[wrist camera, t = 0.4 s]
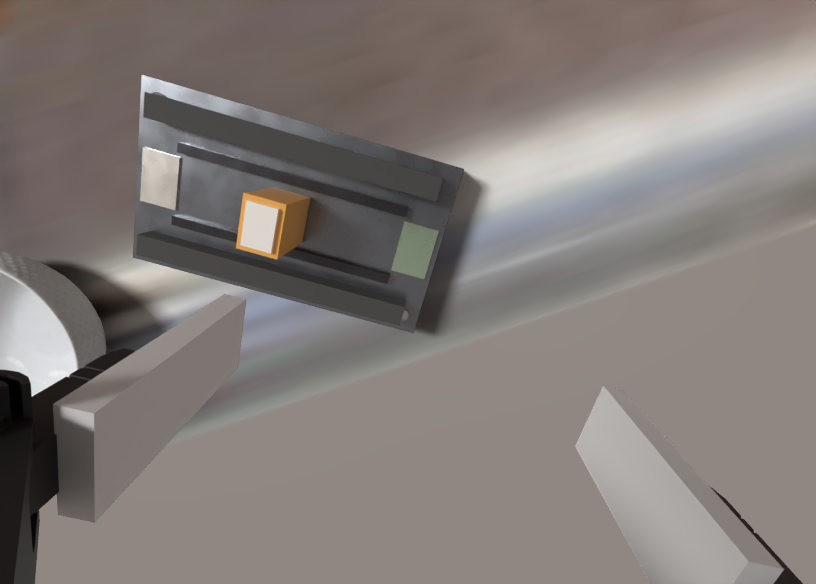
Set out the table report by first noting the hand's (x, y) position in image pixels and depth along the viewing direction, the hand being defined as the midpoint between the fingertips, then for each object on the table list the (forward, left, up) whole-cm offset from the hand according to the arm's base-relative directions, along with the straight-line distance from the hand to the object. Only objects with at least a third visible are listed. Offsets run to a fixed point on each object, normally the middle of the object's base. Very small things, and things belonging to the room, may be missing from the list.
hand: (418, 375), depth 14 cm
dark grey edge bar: (+6, -12, -21) cm, 24 cm away
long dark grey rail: (-5, -12, -21) cm, 24 cm away
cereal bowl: (+18, -35, -24) cm, 46 cm away
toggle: (0, -12, -20) cm, 23 cm away
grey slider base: (0, -12, -24) cm, 26 cm away
